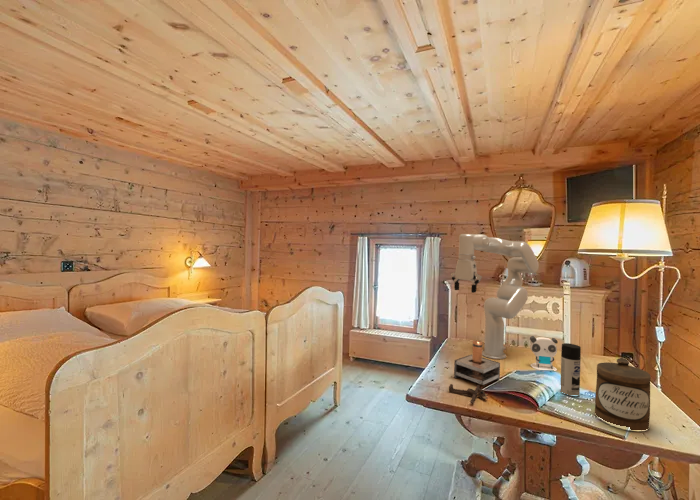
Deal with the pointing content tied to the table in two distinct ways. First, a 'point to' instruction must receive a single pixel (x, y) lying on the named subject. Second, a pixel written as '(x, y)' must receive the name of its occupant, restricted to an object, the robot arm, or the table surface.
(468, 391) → the bear figurine
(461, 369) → the frame
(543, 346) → the panda figurine
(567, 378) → the spray can
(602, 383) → the wooden container
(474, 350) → the tube
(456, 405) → the table surface
